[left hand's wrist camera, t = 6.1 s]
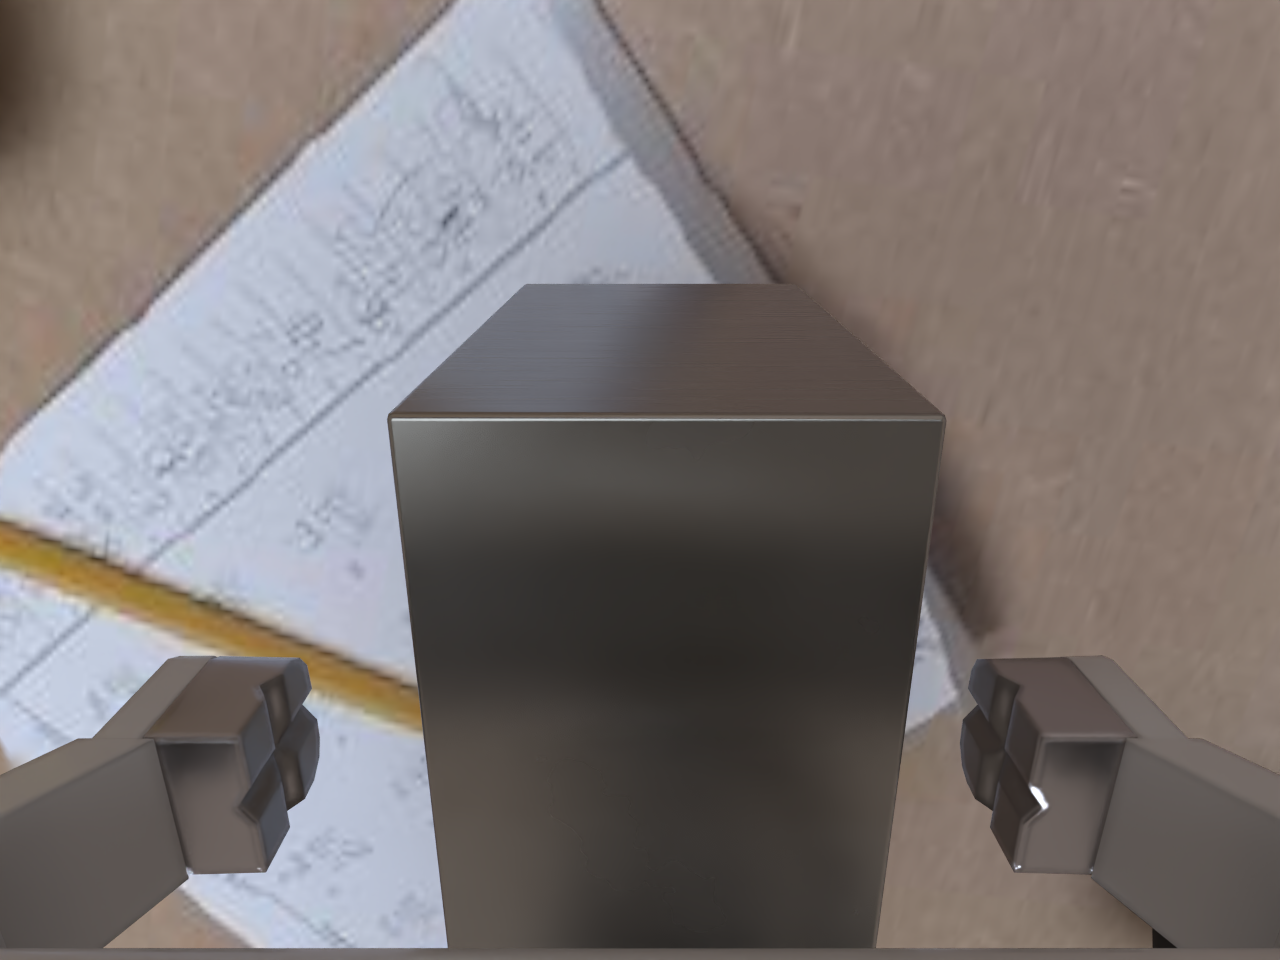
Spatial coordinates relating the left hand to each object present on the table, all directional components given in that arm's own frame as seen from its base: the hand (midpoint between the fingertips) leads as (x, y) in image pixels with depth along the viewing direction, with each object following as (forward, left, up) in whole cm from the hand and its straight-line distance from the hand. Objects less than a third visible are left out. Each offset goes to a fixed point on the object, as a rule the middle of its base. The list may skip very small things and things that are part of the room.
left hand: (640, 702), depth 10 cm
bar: (+10, 0, -7) cm, 12 cm away
